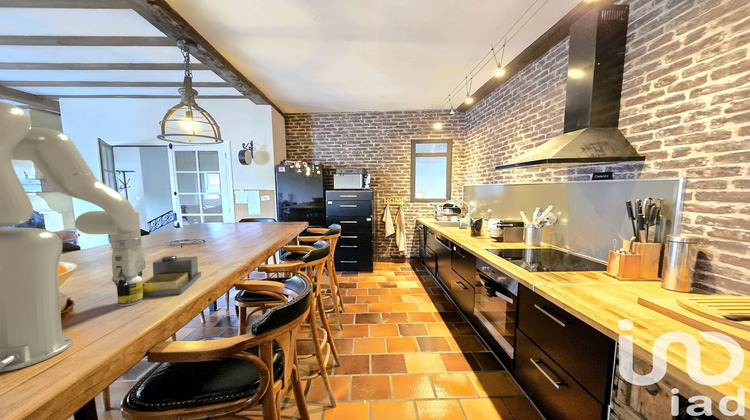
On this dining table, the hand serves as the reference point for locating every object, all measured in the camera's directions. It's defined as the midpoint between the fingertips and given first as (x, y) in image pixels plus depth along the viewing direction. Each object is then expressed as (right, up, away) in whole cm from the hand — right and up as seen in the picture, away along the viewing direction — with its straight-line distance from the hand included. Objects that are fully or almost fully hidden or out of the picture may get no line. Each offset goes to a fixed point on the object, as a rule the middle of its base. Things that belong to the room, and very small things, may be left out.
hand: (130, 291), depth 88 cm
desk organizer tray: (+1, -3, +16) cm, 16 cm away
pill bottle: (0, -4, 0) cm, 4 cm away
